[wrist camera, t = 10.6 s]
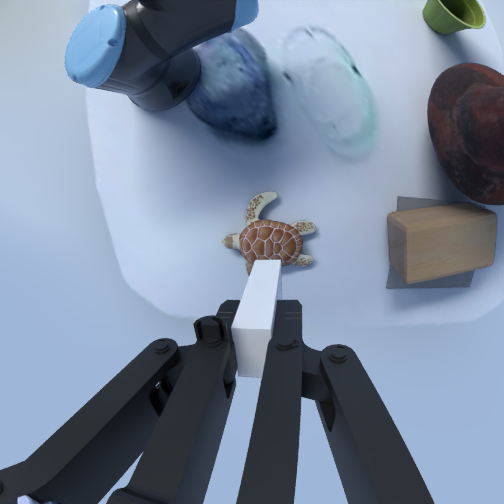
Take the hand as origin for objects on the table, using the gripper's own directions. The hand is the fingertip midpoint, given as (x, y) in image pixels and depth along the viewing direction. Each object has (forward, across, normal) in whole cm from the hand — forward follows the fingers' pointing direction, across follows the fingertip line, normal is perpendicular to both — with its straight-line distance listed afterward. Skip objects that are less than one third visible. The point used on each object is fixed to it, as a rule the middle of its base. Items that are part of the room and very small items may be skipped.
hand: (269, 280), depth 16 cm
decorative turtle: (+33, -4, -9) cm, 34 cm away
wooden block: (+27, +18, -8) cm, 34 cm away
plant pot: (+34, +34, +38) cm, 61 cm away
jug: (+33, +36, +13) cm, 51 cm away
